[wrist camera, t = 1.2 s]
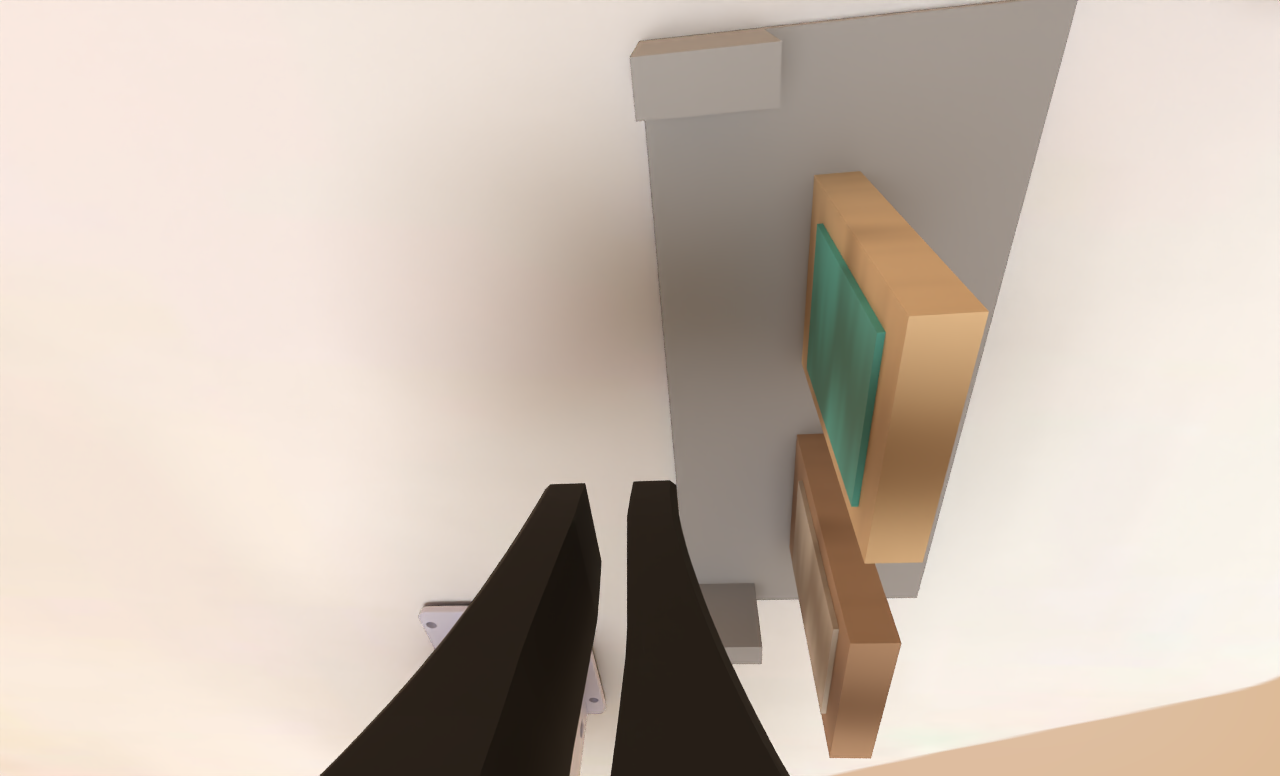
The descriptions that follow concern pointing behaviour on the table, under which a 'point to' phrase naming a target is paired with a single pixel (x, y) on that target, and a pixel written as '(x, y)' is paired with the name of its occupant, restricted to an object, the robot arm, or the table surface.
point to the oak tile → (885, 362)
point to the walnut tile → (839, 606)
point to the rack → (780, 235)
